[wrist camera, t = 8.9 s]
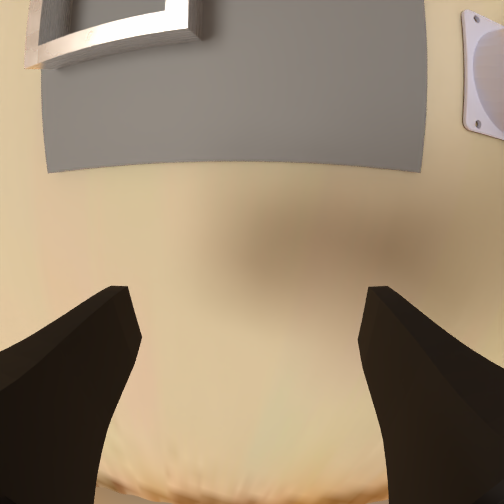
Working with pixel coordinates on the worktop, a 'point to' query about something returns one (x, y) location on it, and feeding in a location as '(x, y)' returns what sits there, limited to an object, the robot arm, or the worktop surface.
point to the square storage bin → (104, 33)
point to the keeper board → (248, 88)
